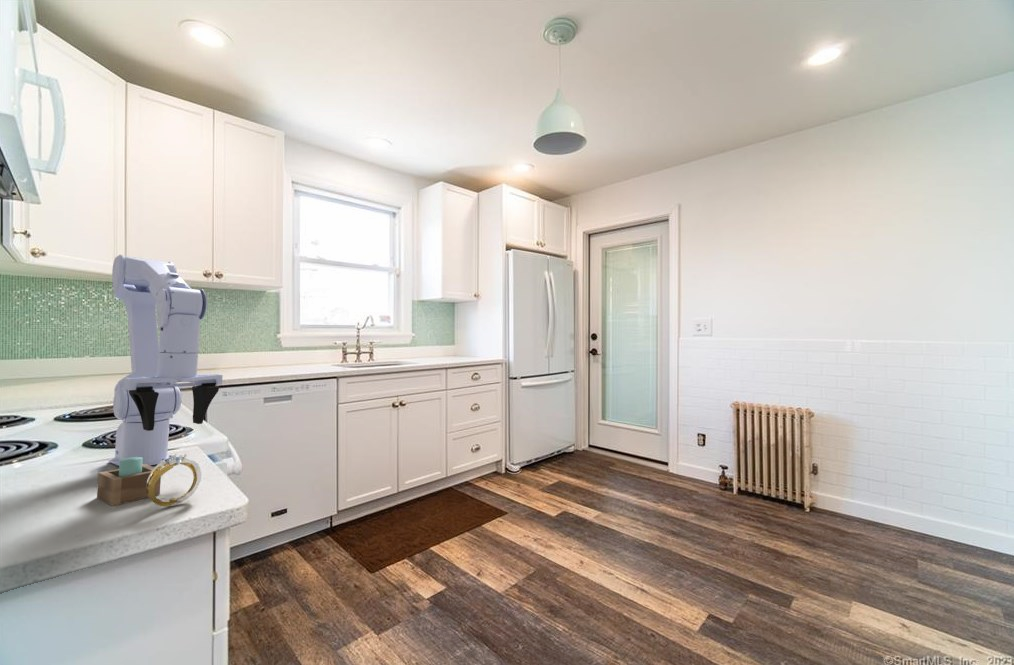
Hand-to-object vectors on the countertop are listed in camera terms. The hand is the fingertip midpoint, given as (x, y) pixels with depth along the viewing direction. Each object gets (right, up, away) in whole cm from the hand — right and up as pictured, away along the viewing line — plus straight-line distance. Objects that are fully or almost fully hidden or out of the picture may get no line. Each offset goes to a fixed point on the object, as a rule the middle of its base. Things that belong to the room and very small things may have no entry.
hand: (174, 426), depth 75 cm
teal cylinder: (-1, -10, -8) cm, 12 cm away
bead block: (-1, -10, -8) cm, 12 cm away
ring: (+9, -10, -11) cm, 17 cm away
